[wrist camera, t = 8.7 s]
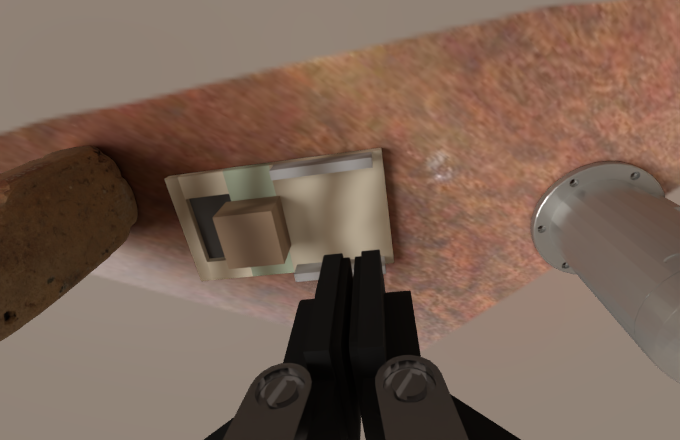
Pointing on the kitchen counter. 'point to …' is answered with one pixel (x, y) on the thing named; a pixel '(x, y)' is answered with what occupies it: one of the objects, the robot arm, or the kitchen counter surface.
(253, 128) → the kitchen counter surface
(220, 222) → the walnut block
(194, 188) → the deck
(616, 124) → the kitchen counter surface
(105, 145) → the kitchen counter surface
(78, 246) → the block
